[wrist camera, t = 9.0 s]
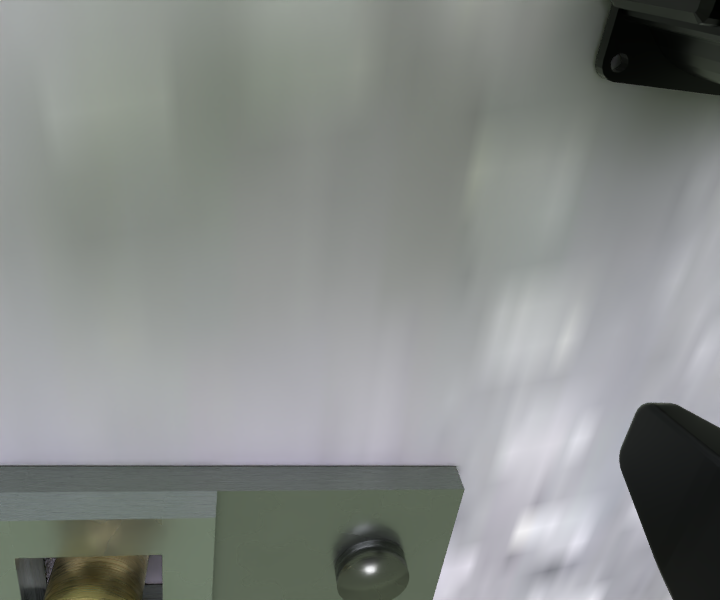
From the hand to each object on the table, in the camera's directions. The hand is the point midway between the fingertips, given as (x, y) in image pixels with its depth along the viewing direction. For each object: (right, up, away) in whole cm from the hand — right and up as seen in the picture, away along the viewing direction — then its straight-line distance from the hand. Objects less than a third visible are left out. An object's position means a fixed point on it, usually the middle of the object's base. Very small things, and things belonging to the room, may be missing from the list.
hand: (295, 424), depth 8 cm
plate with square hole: (-9, -8, +17) cm, 21 cm away
